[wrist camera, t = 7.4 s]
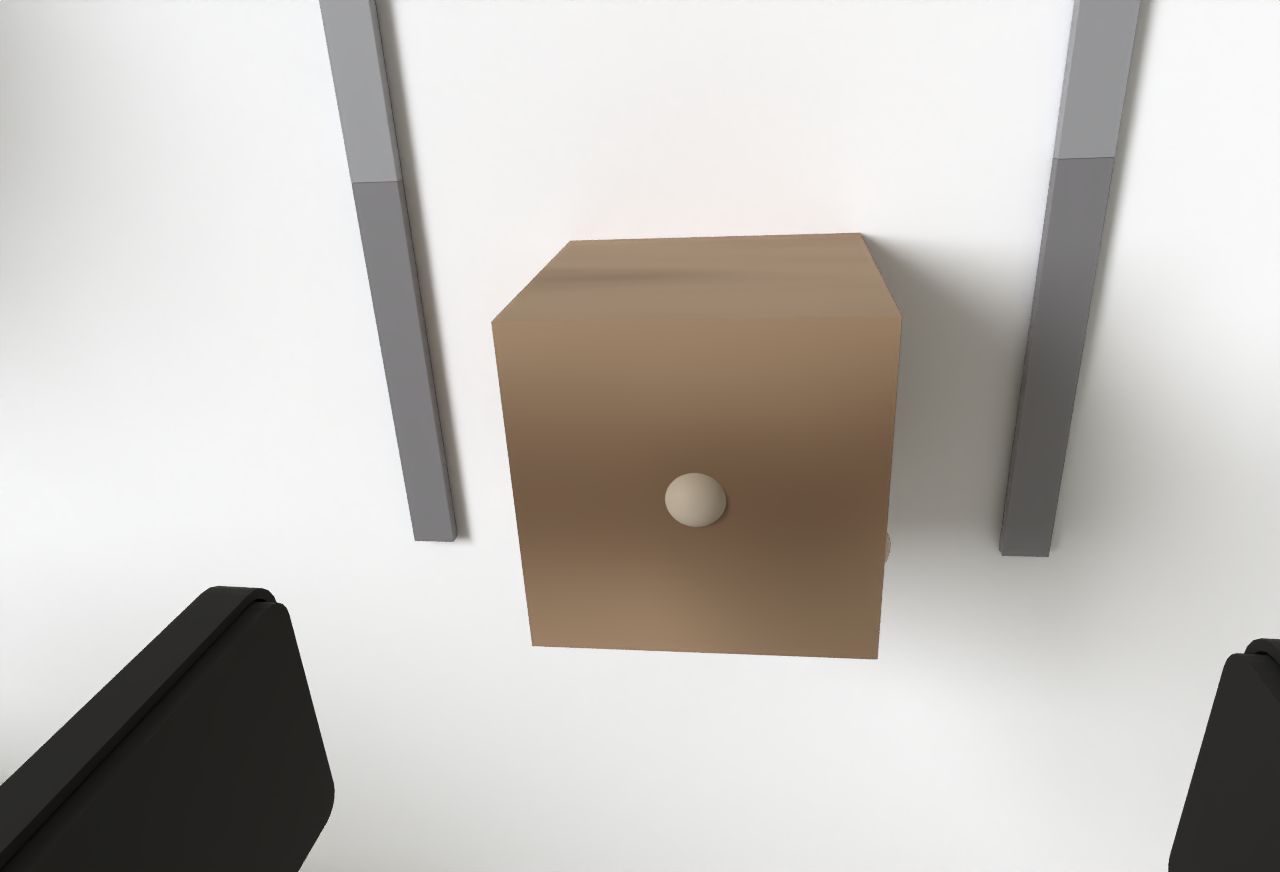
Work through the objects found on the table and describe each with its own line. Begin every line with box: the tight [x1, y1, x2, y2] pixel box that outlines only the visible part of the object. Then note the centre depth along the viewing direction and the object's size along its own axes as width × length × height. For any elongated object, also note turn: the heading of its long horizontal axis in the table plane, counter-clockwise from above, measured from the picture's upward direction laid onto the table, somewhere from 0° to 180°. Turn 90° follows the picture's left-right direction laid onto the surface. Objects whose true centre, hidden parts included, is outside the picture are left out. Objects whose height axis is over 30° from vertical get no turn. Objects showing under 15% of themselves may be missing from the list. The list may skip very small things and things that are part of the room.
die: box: [491, 233, 902, 659], centre depth 16 cm, size 6×6×6 cm
